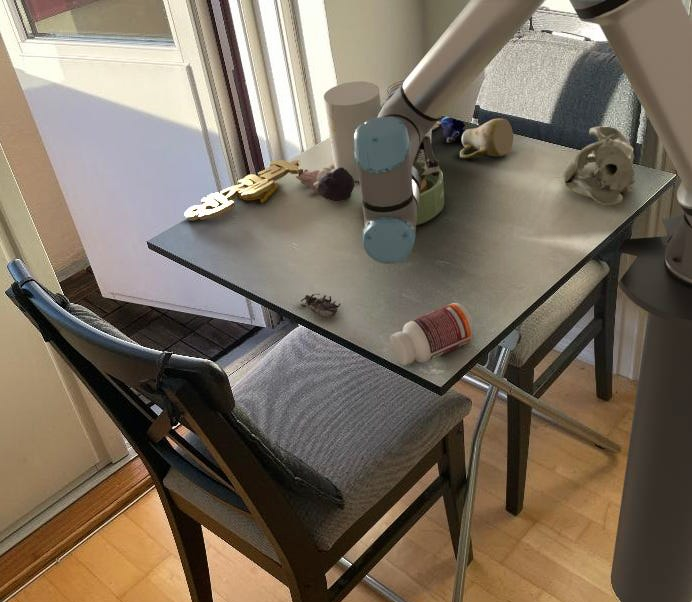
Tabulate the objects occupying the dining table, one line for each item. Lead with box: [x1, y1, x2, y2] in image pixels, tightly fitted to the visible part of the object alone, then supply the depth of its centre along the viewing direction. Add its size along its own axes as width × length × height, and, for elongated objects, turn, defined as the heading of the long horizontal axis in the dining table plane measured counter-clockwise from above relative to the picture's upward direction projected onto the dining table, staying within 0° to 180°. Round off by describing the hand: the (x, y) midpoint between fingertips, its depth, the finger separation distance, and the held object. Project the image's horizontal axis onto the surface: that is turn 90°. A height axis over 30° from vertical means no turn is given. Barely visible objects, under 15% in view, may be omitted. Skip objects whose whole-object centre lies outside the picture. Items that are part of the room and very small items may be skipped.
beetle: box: [300, 293, 341, 318], centre depth 127 cm, size 4×7×3 cm, turn 29°
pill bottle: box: [389, 302, 475, 366], centre depth 115 cm, size 6×6×11 cm
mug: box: [459, 117, 514, 160], centre depth 158 cm, size 8×10×10 cm
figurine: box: [295, 165, 356, 203], centre depth 154 cm, size 10×6×15 cm
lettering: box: [184, 159, 301, 222], centre depth 158 cm, size 25×10×1 cm, turn 123°
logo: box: [237, 182, 279, 204], centre depth 160 cm, size 7×1×8 cm
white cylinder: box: [323, 81, 382, 182], centre depth 157 cm, size 10×10×16 cm
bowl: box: [416, 160, 445, 226], centre depth 146 cm, size 14×14×6 cm
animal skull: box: [562, 125, 636, 206], centre depth 142 cm, size 18×12×13 cm
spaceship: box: [440, 115, 467, 144], centre depth 164 cm, size 7×6×5 cm
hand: (406, 125), depth 145 cm, fingers closed on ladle, 2 cm apart
